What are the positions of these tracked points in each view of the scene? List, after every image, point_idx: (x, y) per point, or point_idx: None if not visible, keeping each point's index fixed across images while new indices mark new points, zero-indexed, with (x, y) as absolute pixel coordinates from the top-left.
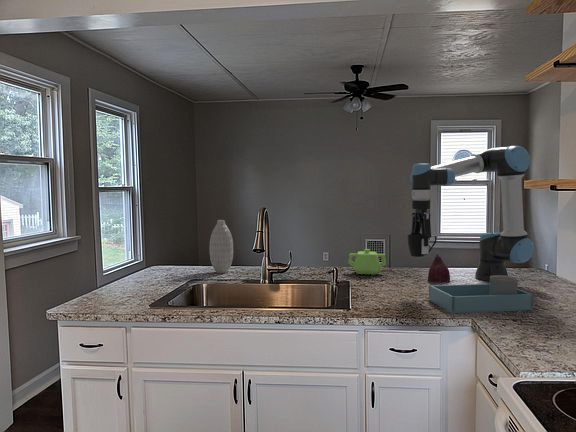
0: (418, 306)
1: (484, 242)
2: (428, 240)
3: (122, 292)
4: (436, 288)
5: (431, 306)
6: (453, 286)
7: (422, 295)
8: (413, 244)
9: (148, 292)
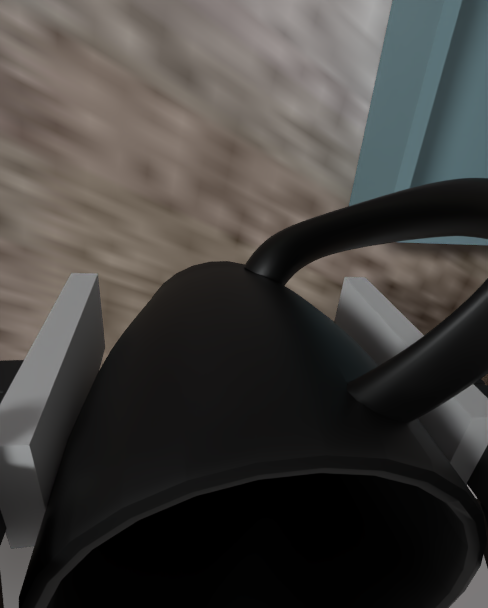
0: (415, 306)
1: None
2: (478, 390)
3: None
4: (456, 236)
5: (439, 257)
6: (436, 73)
7: (249, 204)
8: (314, 493)
9: None
